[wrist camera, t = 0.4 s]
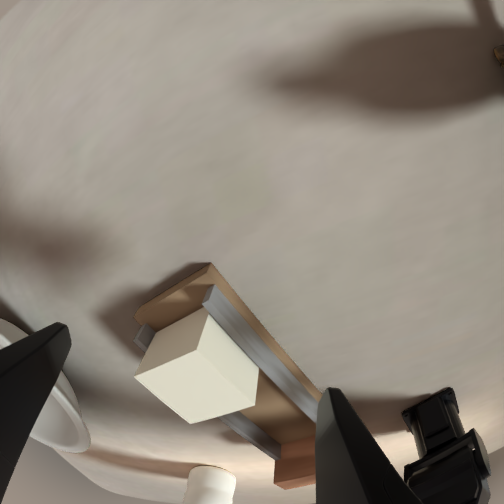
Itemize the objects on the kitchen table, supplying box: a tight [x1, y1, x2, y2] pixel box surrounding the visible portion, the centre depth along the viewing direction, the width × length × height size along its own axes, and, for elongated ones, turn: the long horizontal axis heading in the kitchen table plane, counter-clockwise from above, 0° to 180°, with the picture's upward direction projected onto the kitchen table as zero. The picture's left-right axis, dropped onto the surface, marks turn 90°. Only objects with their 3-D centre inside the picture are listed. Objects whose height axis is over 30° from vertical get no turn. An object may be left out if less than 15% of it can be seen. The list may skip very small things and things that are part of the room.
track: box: [133, 263, 323, 490], centre depth 25 cm, size 24×8×6 cm, turn 35°
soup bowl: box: [0, 318, 91, 453], centre depth 29 cm, size 24×24×7 cm
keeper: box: [134, 307, 259, 424], centre depth 22 cm, size 6×6×5 cm
